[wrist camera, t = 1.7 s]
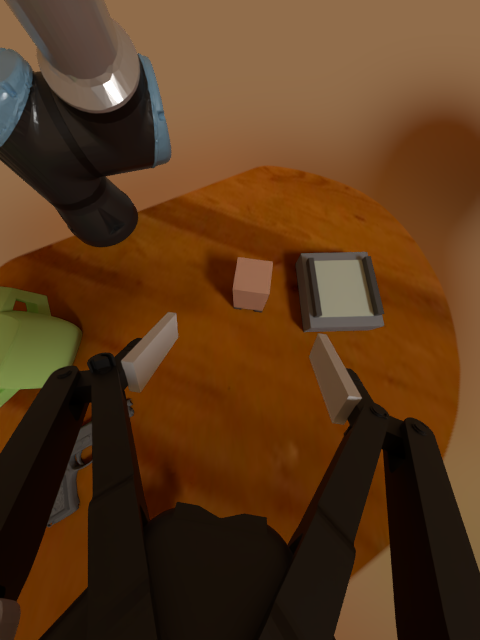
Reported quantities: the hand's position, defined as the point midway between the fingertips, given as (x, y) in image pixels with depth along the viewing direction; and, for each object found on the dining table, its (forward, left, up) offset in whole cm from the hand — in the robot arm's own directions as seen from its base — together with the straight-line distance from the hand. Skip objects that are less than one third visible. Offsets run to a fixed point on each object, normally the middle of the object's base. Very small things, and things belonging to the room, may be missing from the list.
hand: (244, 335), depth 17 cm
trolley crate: (-12, +2, -21) cm, 24 cm away
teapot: (-2, -41, -21) cm, 46 cm away
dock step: (-12, +20, -21) cm, 31 cm away
